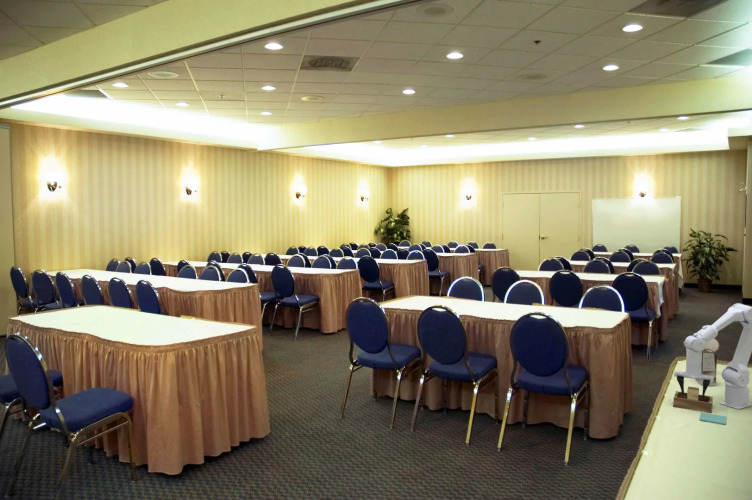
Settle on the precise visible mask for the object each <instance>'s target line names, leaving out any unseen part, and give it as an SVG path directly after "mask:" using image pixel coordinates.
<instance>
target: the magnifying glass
mask: <svg viewBox="0 0 752 500" xmlns="http://www.w3.org/2000/svg"><path fill="white" fill-rule="evenodd" d="M720 346H721V343H720V341H719V340H718V339H717V338H716V337H715V338H714V339H712V340H711V341H709V342H708V343H707V344H706V346H705V349H710V350H712V351H714V352H715V353H717V352H718V351H719V350H720Z"/></svg>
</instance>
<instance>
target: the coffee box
mask: <svg viewBox="0 0 752 500" xmlns="http://www.w3.org/2000/svg"><path fill="white" fill-rule="evenodd" d="M717 363H718V353H717V352H714V351H712V350H710V349H704V350H702V363H701V374H704V375H708V376H713V382H710V384H709V386H708V387H717V365H718V364H717ZM695 381H696V382H697V383H698V384H700V385H701V386H702V387H703V380H699V379H695Z"/></svg>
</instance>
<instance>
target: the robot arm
mask: <svg viewBox="0 0 752 500" xmlns="http://www.w3.org/2000/svg"><path fill="white" fill-rule="evenodd" d="M733 322H740V324H741V326H742V327H743V328H742V331H741V333H740V337H739V340H738V342H737V346H736V348H735V351H734V353H733V356H732V357H733V358H732V360H731V361H730V362H727V364H726V366H725V367H724V369H722V370H721V371H722V372H721V378H722V379H723V380H724V401H721V402H719V404H720V405H722V406H726V407H729V408H733V409H735V410H741V409H744V408H748V407H750V406H752V404H751V403H750V388H749V387H748V385H749V383H750V374H751V371H750V370H749V368H748V364H749V361H750V358H751V355H752V306H750V305H746V304H743V303H740V302H737V303H735V304H733V305H732V306H730V307H729V308H728V309H727V311H726V312H725V313H724V314H723V315H722V316H720V317H719V318H718V319H717V320H715V322H714V323H713V324H710V325H709V324H706V325H703V326H702V327H701V329H700V330H698V331H697V332H695V333H693V335H689V336H687V337H686V338H685V340H684V341H683V345H684V347H685V351H686V355H685V357H686V359H685V371H676V370H674V372H673V377H674V378H676V381H677V383H678V385H679V388H680V392H682V394H684V392H685V378H686V379H693V380H696V379H699V380H703V386H702V394H701V395H702V397H704V395H705V394H706V391H707V389H708V387H710V386H709V384H710V382H713V376H708V375H704V374H701V363H702V350H704V349H705V346H706V344H707V343H708V342H709V341H711V340H712V339H714V338H716V337H717V336H718V333H719V331H721V330H723V329H724V328H726V327H727V326H728V325H731V324H732V323H733ZM705 396H706V395H705Z"/></svg>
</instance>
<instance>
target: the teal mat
mask: <svg viewBox="0 0 752 500" xmlns="http://www.w3.org/2000/svg"><path fill="white" fill-rule="evenodd" d="M699 421H700V422H706V423H711V424H718V425H723V426H726V425H727V416H726V415H721V414H720V415H719V414H713V413H708V412H702V411H700V415H699Z"/></svg>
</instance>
